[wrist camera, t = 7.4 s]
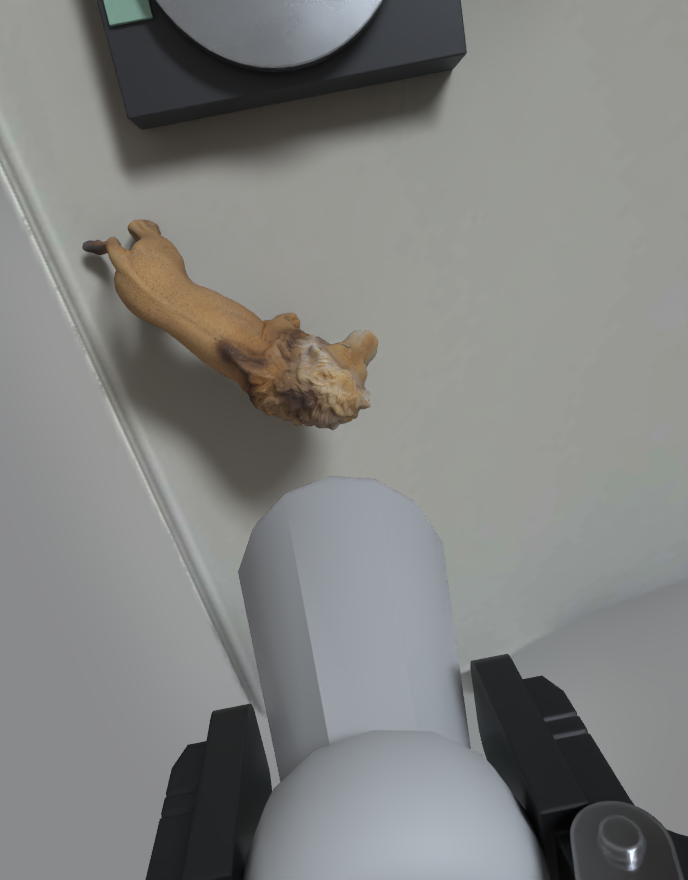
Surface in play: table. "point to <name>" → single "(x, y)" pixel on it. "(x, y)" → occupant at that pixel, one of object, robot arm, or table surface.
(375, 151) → the table surface
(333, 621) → the salt shaker
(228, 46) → the scale pan
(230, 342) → the lion figurine
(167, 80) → the scale
